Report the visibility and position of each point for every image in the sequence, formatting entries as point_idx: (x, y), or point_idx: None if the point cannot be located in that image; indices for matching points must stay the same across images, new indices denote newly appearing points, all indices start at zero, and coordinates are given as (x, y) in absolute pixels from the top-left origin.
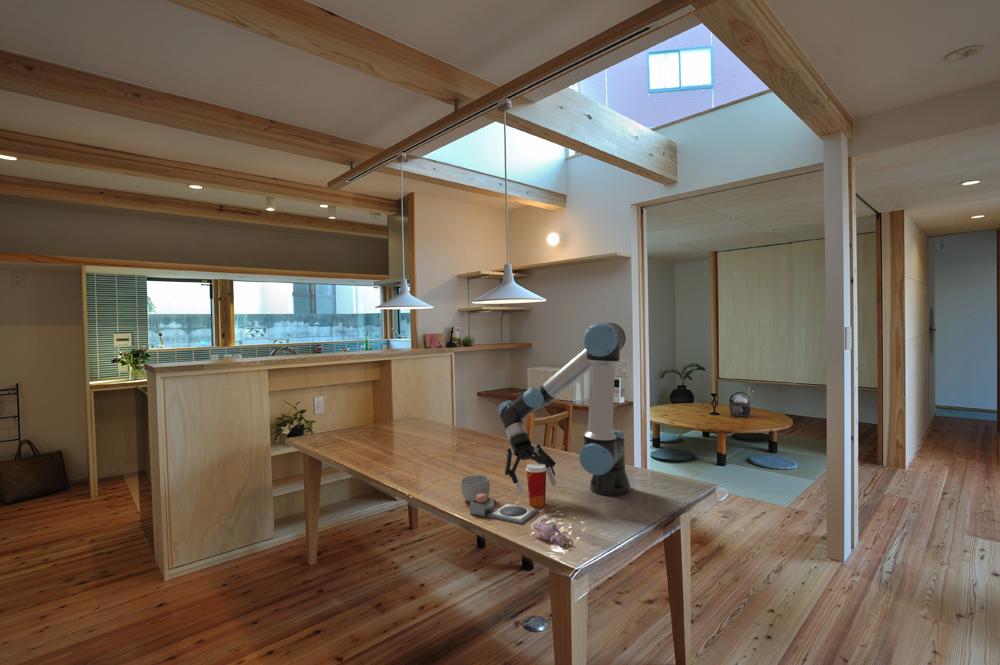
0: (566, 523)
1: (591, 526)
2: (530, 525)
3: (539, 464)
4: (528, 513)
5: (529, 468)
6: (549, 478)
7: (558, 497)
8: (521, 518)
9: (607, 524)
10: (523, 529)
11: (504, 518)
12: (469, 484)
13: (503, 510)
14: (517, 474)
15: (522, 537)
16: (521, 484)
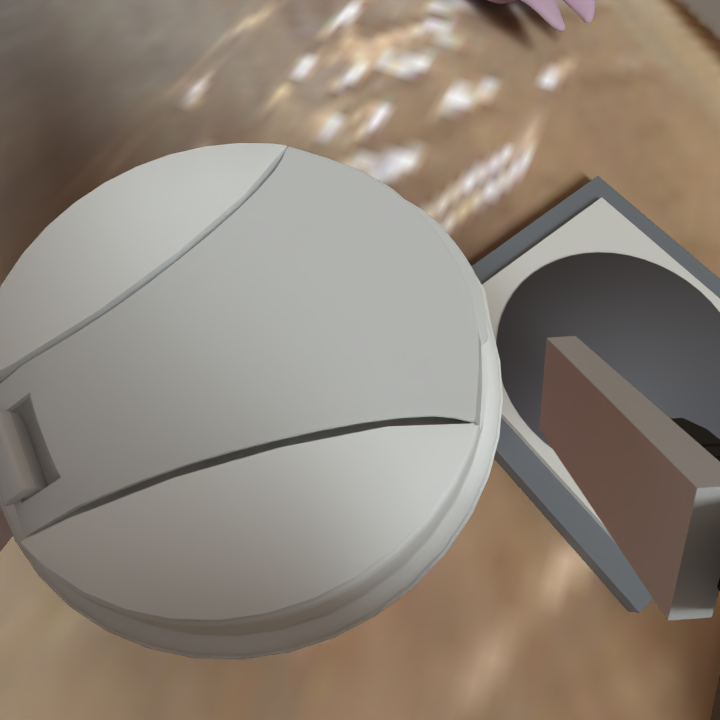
0: (298, 105)
1: (188, 31)
2: (594, 6)
3: (92, 397)
4: (503, 269)
5: (460, 282)
6: (6, 535)
7: (20, 588)
8: (588, 206)
9: (89, 22)
10: (597, 127)
11: (713, 275)
12: None
13: (706, 404)
14: (679, 458)
15: (630, 50)
16: (578, 364)
